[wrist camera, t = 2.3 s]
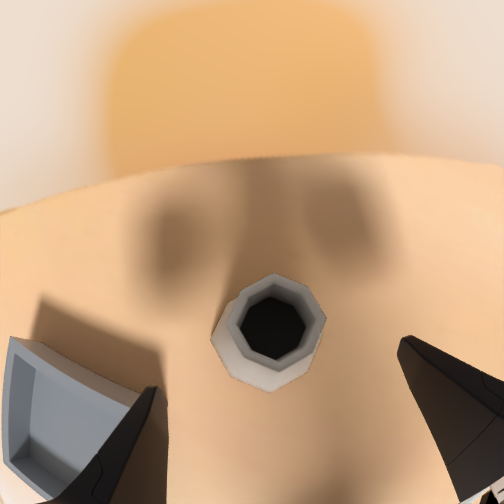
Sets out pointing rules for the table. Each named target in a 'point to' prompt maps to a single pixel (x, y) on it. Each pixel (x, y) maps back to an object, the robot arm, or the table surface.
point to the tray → (55, 415)
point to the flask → (269, 333)
